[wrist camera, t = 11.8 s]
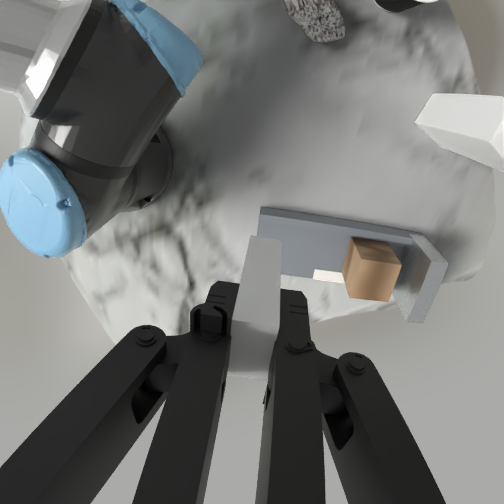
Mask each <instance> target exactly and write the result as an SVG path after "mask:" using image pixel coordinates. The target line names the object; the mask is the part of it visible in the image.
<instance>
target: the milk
mask: <svg viewBox="0 0 504 504" xmlns="http://www.w3.org/2000/svg"><path fill="white" fill-rule="evenodd" d="M414 123H415V124H416V125H417V126H418V127H419V128H420V129H421V130H423V131H424V132H425V133H426V134H427V135H428V136H429V137H430V138H431V139H432V140H434V141H435V142H436V143H437V144H438V145H439V146H440V147H441V148H444V149H446V150H449V151H452V152H454V153H457V154H460V155H462V156H465V157H467V158H470V159H472V160H475V161H477V162H480V163H482V164H485V165H487V166H489V167H492V168H494V169H496V170H498V171H501V172H503V173H504V97H502V96H490V95H475V94H443V93H433V94H432V96H431V97H430V99H429V101H428V102H427V104H426V105H425V107H424V108H423V110H422V112H421V113H420V115H419V116H418V118H417V119H416V121H415V122H414Z"/></svg>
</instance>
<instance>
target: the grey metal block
mask: <svg viewBox="0 0 504 504" xmlns="http://www.w3.org/2000/svg"><path fill="white" fill-rule="evenodd" d="M410 236H411V237H412V238H413V241H412V244H411V245H409V244H405V247H404V250H403V253H402V256H401V259H400V263H401V264H402V266H401V269H400V272H399V275H398V278H397V280H396V283H395V286H394V288H393V291H392V293H393V295H394V297H395V299H396V302H397V304H398V306H399V308H400V310H401V312H402V314H403V316H404V318H405V321H406V322H414V323H423V322H424V320H425V317H426V315H427V313H428V311H429V309H430V307H431V305H432V303H433V300H434V298H435V296H436V294H437V291H438V289H439V287H440V284H441V282H442V280H443V277H444V275H445V272H446V270H447V267H448V265H449V264H448V262H447V261H446V260H445V259H444V258H443V257H442V256H441V254H440V253H439V252H438V251H437V250H436V249H435V248H434V247H433V245H432V244H431V243H430V242H429V241H428V240H427V239H426V238H425V237H424V236H419V235H414V234H410Z"/></svg>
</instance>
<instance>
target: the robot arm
mask: <svg viewBox="0 0 504 504" xmlns="http://www.w3.org/2000/svg"><path fill="white" fill-rule="evenodd" d="M201 66H202V54H201V51H200V49H199V48H198V47H197V45H196V44H195V43H194V42H193V41H192V40H191V39H190V38H189V37H188V36H187V35H186V34H184V33H183V32H182V31H181V30H180V29H179V28H178V27H176V26H175V25H174V24H173V23H172V22H170V21H169V20H168V19H166V18H165V17H164V16H163V15H161V14H160V13H158V12H157V11H156V10H154V9H153V8H151V7H148V6H147V5H146V4H145V3H143V2H141V1H140V0H70V1H63V2H61V1H58V0H0V91H4V92H8V93H12V94H15V95H16V96H17V97H18V98H19V101H20V103H21V106H22V108H23V110H24V113H25V115H26V116H28V117H32V118H36V119H40V120H39V122H38V124H37V127H36V129H35V132H34V134H33V137H32V140H31V142H30V145H29V146H28V148H24V149H19V150H17V151H16V152H15V153H14V154H13V155H11V156H10V157H9V158H8V159H7V160H6V161H5V162H4V164H3V166H2V168H1V171H0V206H1V210H2V212H3V214H4V217H5V219H6V222H7V224H8V226H9V228H10V229H11V231H12V232H13V234H14V235H15V237H16V238H17V239H18V240H19V241H20V242H21V243H22V244H23V245H24V246H25V247H26V248H27V249H29V250H30V251H31V252H33V253H35V254H37V255H39V256H41V257H45V258H50V257H52V258H59V257H62V256H64V255H66V254H68V253H69V252H71V251H72V250H74V249H76V248H78V247H80V246H81V245H82V244H83V243H84V242H85V240H86V239H87V238H89V237H90V236H91V235H92V234H93V233H95V232H96V231H97V230H98V229H99V228H101V227H102V226H103V225H104V224H105V223H107V222H108V221H109V220H110V219H112V218H113V217H114V216H115V215H117V214H118V213H120V212H131V211H136V210H139V209H142V208H144V207H146V206H147V205H149V204H150V203H152V202H153V201H154V200H155V199H156V198H158V197H159V196H160V195H161V193H162V192H163V191H164V189H165V188H166V186H167V184H168V182H169V180H170V177H171V173H172V166H173V157H172V150H171V146H170V143H169V141H168V138H167V137H166V135H165V133H164V132H163V130H162V129H161V128H160V126H161V124H162V123H163V121H164V120H165V118H166V117H167V115H168V114H169V113H170V111H171V110H172V108H173V107H174V105H175V104H176V103H177V101H178V100H179V98H180V97H181V98H183V97H184V95H185V90H186V89H187V87H188V86H189V84H190V83H191V81H192V80H193V78H194V77H195V76H196V74H197V73H198V71H199V70H200V68H201ZM280 276H281V240H280V239H273V238H265V237H258V236H251V237H250V241H249V246H248V250H247V255H246V259H245V263H244V268H243V272H242V277H241V281H240V284H238V283H231V282H224V281H217V282H216V283H215V284H213V285H212V286H211V288H210V290H209V293H208V296H207V299H206V302H205V303H204V304H199V305H197V306H195V307H194V308H193V309H192V310H191V312H190V332H189V333H186V334H183V335H177V336H166V335H165V333H164V332H163V330H161V329H160V328H158V327H156V326H152V325H142V326H139V327H135V328H134V329H132V330H131V331H130V332H129V333H128V334H127V335H126V336H125V337H124V338H123V339H122V340H121V341H120V342H119V343H118V344H117V345H116V346H115V347H114V348H113V349H112V350H111V351H110V352H109V353H108V354H107V355H106V356H105V357H104V358H103V359H102V360H101V361H100V362H99V363H98V364H97V365H96V366H95V367H94V368H93V369H92V370H91V371H90V372H89V373H88V375H86V376H85V377H84V379H83V380H81V381H80V383H79V384H78V385H77V386H76V387H75V388H74V389H73V390H72V391H71V392H70V393H69V394H68V395H67V396H66V397H65V398H64V399H63V400H62V401H61V402H60V403H59V405H58V406H57V407H56V408H55V409H54V410H53V411H52V412H51V413H50V414H49V415H48V416H47V417H46V418H45V419H44V421H42V423H41V424H40V425H39V426H38V427H37V428H36V429H35V430H34V431H33V432H32V433H31V434H30V435H29V437H28V438H27V439H26V440H25V441H24V442H23V443H22V444H21V445H20V446H19V448H18V449H17V450H16V451H15V452H14V453H13V454H12V455H11V456H10V458H9V459H8V460H7V461H6V462H5V463H4V464H3V465H2V466H1V468H0V504H90V503H91V502H92V501H93V499H94V498H95V497H96V495H97V494H98V492H99V491H100V490H101V488H102V487H103V486H104V484H105V483H106V482H107V480H108V479H109V478H110V476H111V475H112V473H113V472H114V471H115V469H116V468H117V467H118V465H119V464H120V462H121V461H122V460H123V458H124V457H125V455H126V454H127V453H128V451H129V450H130V449H131V447H132V446H133V444H134V443H135V441H136V440H137V439H138V437H139V436H140V435H141V433H142V432H143V430H144V429H145V428H146V426H147V425H148V423H149V422H150V420H151V419H152V418H153V416H154V415H155V414H156V412H157V411H158V409H159V408H160V406H161V405H162V404H163V402H164V401H165V400H166V402H165V404H164V408H163V411H162V413H161V416H160V419H159V422H158V425H157V428H156V431H155V434H154V437H153V440H152V443H151V446H150V449H149V452H148V455H147V458H146V461H145V465H144V468H143V471H142V474H141V478H140V480H139V483H138V487H137V490H136V493H135V496H134V500H133V503H132V504H203V501H204V496H205V491H206V486H207V480H208V475H209V470H210V465H211V459H212V454H213V449H214V444H215V438H216V433H217V428H218V422H219V417H220V412H221V407H222V402H223V397H224V391H225V386H226V377H227V375H229V376H236V377H243V378H250V379H258V380H265V381H267V379H268V384H267V388H266V392H265V396H264V401H263V404H264V416H263V427H262V439H261V450H260V461H259V471H258V481H257V491H256V501H255V504H325V503H326V502H325V469H324V447H323V432H324V435H325V438H326V440H327V443H328V446H329V449H330V452H331V455H332V457H333V460H334V463H335V466H336V469H337V472H338V475H339V478H340V481H341V483H342V486H343V489H344V492H345V495H346V498H347V501H348V504H446V503H445V501H444V499H443V496H442V494H441V492H440V490H439V488H438V486H437V484H436V482H435V480H434V478H433V475H432V473H431V471H430V469H429V467H428V466H427V463H426V461H425V459H424V457H423V455H422V453H421V451H420V450H419V447H418V445H417V443H416V441H415V440H414V438H413V436H412V434H411V432H410V430H409V428H408V426H407V424H406V422H405V420H404V419H403V417H402V415H401V413H400V411H399V409H398V407H397V406H396V404H395V402H394V400H393V398H392V397H391V394H390V393H389V391H388V389H387V387H386V386H385V384H384V382H383V380H382V378H381V376H380V375H379V373H378V371H377V369H376V368H375V366H374V364H373V363H372V361H371V360H370V359H369V358H367V357H366V356H364V355H362V354H359V353H353V352H349V353H346V354H343V355H342V356H340V357H339V359H336V358H333V357H330V356H327V355H325V354H323V353H321V352H320V351H318V350H317V349H316V347H315V344H314V342H313V341H312V340H311V337H310V326H309V315H308V305H307V299H306V297H305V296H304V294H303V293H302V292H301V291H295V290H287V289H280ZM166 398H167V399H166Z"/></svg>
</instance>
